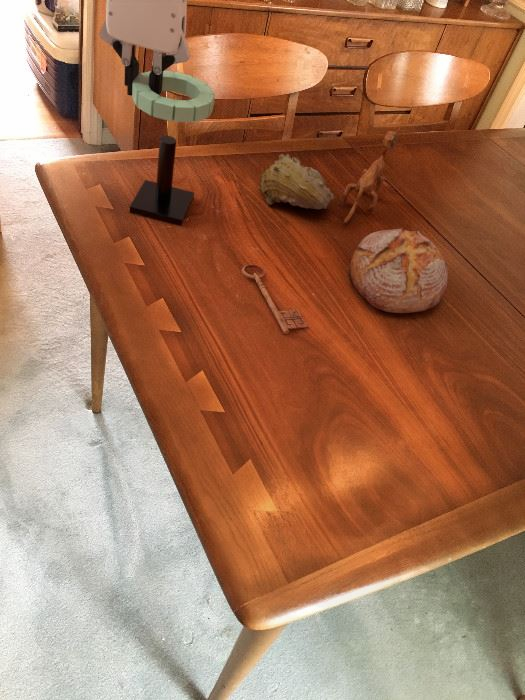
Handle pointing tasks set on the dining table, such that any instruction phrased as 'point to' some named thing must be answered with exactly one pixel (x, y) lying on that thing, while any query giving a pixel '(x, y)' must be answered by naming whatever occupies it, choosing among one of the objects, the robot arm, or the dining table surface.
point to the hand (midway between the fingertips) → (143, 93)
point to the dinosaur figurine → (371, 177)
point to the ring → (170, 108)
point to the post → (163, 190)
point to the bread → (399, 271)
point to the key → (276, 313)
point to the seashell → (294, 184)
